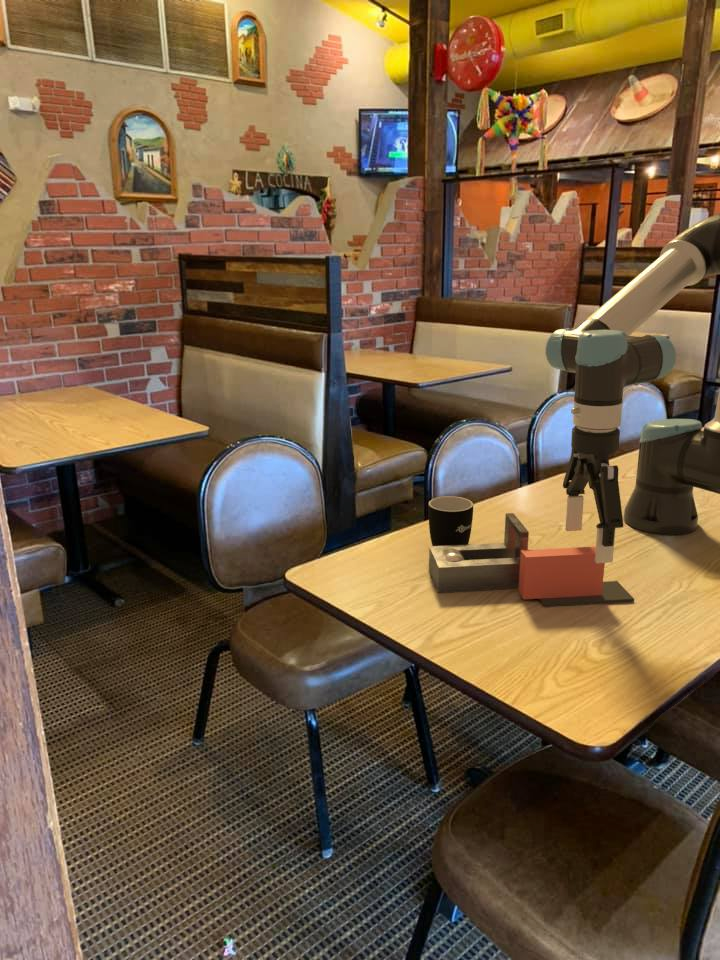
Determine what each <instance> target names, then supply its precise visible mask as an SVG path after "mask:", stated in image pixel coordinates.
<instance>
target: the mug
mask: <svg viewBox="0 0 720 960" xmlns="http://www.w3.org/2000/svg"><path fill="white" fill-rule="evenodd" d="M427 509H428V512H427V513H428V525H429V526H428V530H429V536H430V541H431V545H432V546H449V545H469V542H470V539H471V533H472V526H473V517H474V503H473V502H472V501H471V500H470V499H467V498H465V497H461V496H454V495H451V496H450V495H448V496H445V495H444V496H438V497H434V498H432V499H431V500H429V501H428V507H427Z"/></svg>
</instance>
